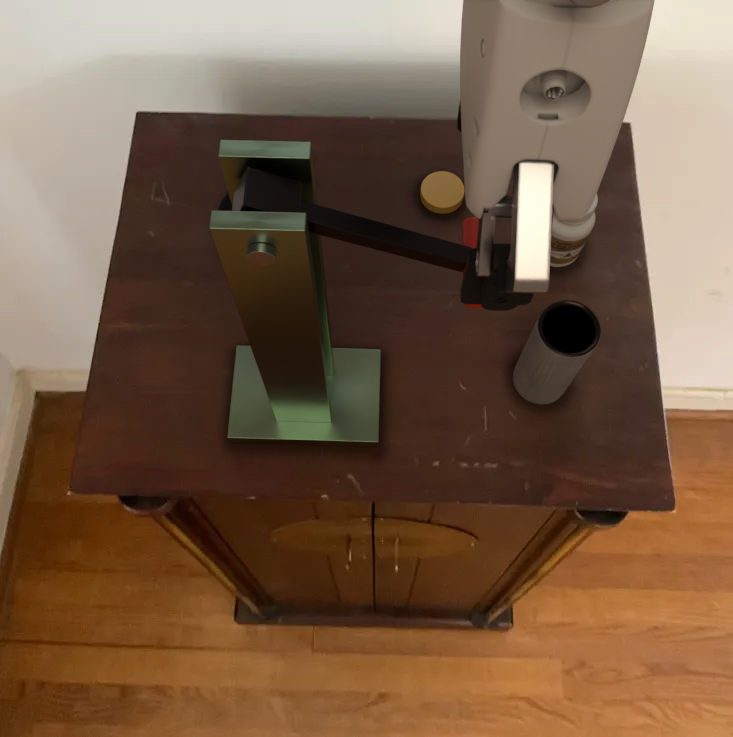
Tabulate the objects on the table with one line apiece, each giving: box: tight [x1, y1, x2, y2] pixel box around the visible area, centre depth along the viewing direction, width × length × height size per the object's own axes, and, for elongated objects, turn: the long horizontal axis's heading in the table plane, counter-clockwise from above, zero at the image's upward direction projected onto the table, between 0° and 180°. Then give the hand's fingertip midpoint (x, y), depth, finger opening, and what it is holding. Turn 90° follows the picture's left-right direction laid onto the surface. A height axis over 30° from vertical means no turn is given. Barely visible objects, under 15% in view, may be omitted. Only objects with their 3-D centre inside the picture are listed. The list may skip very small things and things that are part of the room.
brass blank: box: [419, 170, 465, 215], centre depth 71 cm, size 4×4×1 cm
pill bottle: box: [550, 193, 599, 268], centre depth 65 cm, size 4×4×8 cm
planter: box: [512, 299, 602, 405], centre depth 59 cm, size 4×4×10 cm
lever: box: [231, 167, 484, 309], centre depth 40 cm, size 14×5×2 cm, turn 88°
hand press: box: [208, 139, 382, 448], centre depth 50 cm, size 12×8×30 cm, turn 88°
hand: (491, 210), depth 37 cm, fingers open, 9 cm apart
